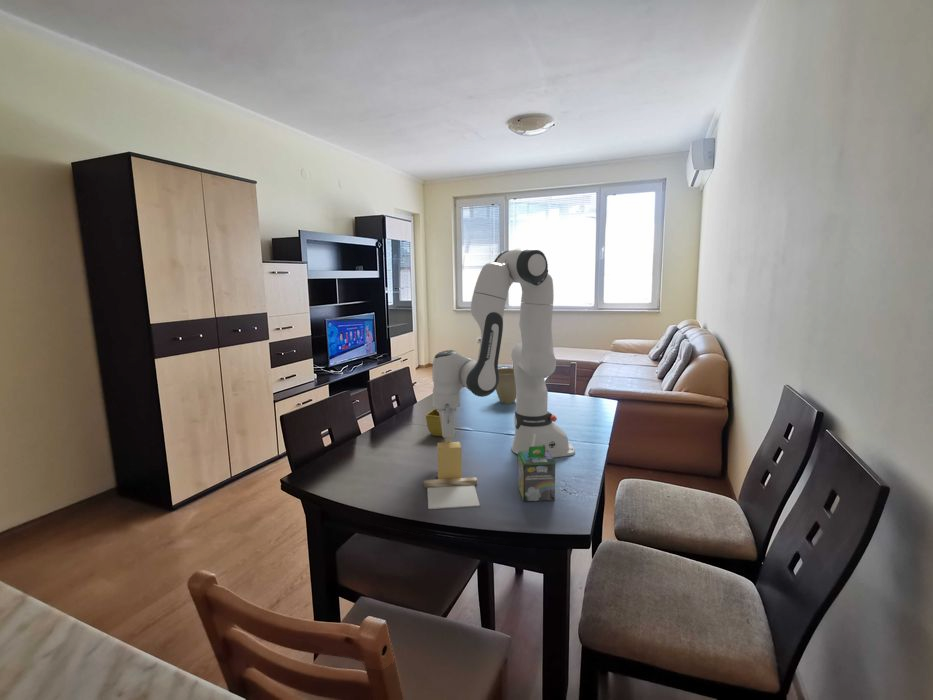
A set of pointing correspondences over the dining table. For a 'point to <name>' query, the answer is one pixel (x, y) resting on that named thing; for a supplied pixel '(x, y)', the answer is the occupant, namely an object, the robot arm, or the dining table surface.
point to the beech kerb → (450, 482)
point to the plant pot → (506, 386)
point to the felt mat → (452, 497)
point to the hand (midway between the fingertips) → (446, 441)
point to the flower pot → (434, 423)
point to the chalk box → (536, 474)
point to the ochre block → (449, 460)
